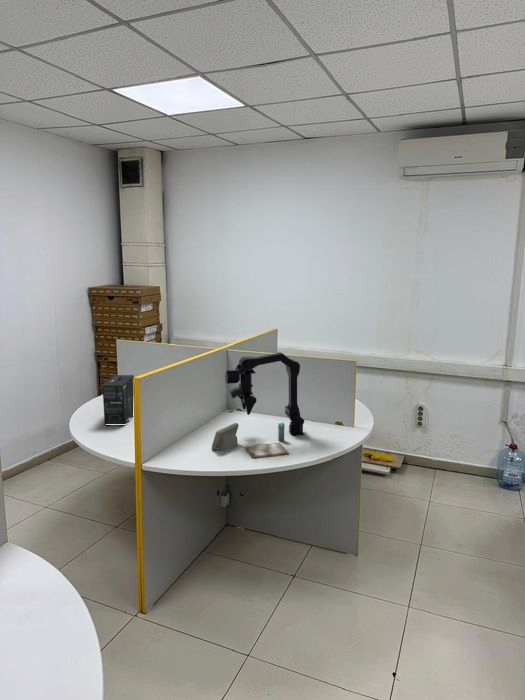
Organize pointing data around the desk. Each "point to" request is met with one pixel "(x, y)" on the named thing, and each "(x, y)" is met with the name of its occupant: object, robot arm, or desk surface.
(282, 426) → the glue stick
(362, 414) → the desk surface
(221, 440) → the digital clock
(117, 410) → the headset box
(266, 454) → the clipboard
